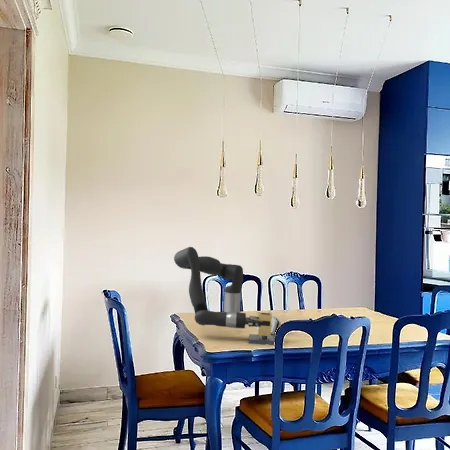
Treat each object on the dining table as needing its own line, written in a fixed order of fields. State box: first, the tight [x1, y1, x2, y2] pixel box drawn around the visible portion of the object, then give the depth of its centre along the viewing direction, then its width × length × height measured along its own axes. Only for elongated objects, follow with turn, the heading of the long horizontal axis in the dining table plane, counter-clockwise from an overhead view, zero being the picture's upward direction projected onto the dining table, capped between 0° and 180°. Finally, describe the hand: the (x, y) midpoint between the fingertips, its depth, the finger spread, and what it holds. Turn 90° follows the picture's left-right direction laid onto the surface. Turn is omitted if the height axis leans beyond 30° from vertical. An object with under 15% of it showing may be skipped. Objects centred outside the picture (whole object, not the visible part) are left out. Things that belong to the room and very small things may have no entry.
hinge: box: [255, 315, 282, 336], centre depth 253 cm, size 17×5×10 cm, turn 22°
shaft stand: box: [248, 333, 276, 346], centre depth 231 cm, size 11×15×7 cm
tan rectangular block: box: [257, 311, 273, 336], centre depth 231 cm, size 6×6×10 cm
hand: (270, 322), depth 231 cm, fingers closed on tan rectangular block, 6 cm apart
